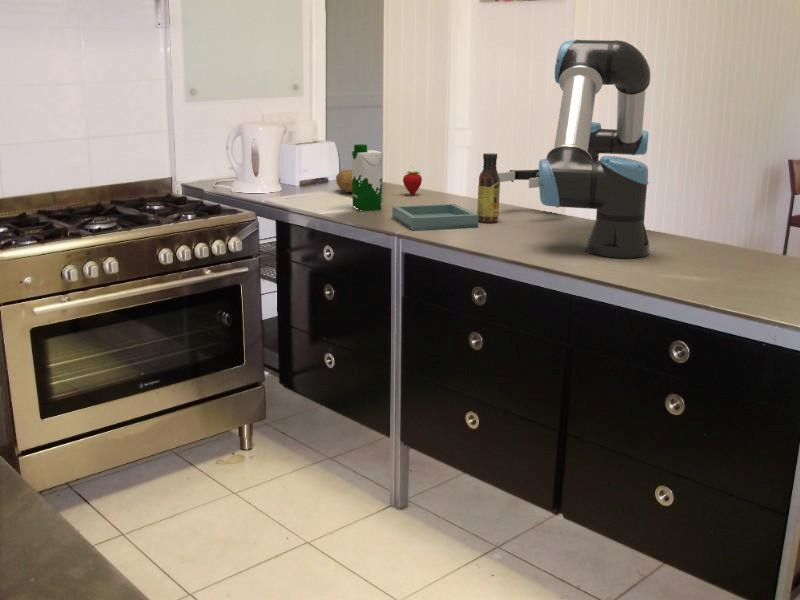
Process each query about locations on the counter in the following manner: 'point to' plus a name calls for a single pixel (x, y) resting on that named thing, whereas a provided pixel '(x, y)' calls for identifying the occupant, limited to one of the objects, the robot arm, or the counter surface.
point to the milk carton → (366, 178)
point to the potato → (345, 180)
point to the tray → (434, 217)
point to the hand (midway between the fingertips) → (513, 180)
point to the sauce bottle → (488, 190)
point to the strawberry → (412, 181)
